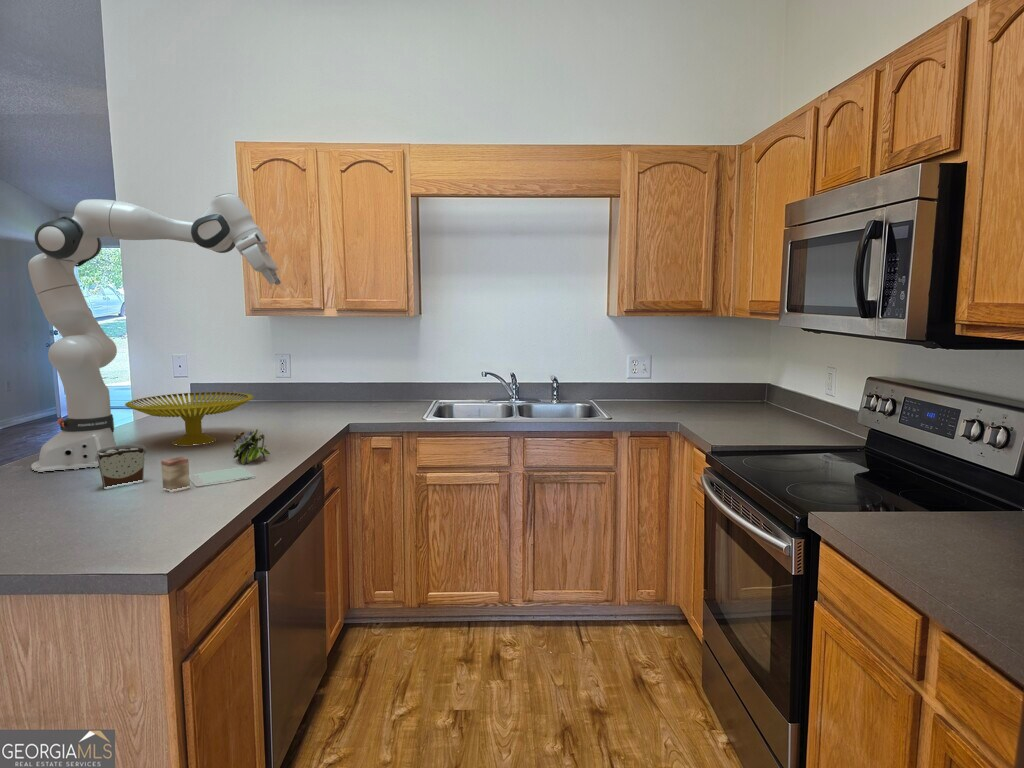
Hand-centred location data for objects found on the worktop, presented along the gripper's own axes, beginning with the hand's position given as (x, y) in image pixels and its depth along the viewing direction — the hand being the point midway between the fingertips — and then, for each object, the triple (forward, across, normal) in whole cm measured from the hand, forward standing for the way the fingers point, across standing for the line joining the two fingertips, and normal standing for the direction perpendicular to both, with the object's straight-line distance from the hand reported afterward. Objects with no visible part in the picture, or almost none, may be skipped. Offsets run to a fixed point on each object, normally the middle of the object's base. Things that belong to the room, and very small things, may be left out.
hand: (276, 283), depth 200 cm
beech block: (+38, +35, -44) cm, 68 cm away
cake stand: (+31, -26, -56) cm, 69 cm away
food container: (+30, +27, -59) cm, 72 cm away
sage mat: (+42, +25, -37) cm, 61 cm away
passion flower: (+44, +6, -33) cm, 55 cm away
